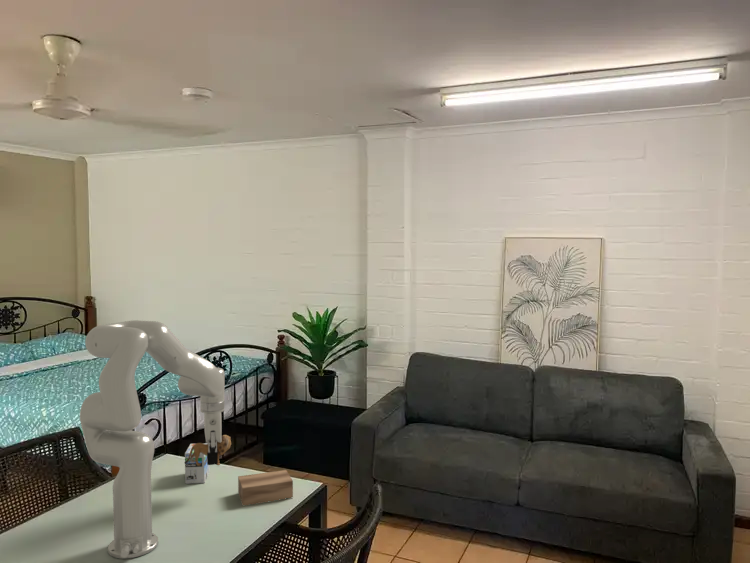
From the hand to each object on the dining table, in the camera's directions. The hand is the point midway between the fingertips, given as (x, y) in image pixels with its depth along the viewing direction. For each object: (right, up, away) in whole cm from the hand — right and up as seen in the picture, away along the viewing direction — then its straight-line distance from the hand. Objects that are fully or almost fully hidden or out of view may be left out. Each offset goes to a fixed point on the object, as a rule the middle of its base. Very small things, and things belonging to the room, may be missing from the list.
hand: (212, 461), depth 192 cm
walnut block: (+17, -12, 0) cm, 21 cm away
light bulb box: (-9, -11, +15) cm, 21 cm away
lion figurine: (-1, -1, 0) cm, 2 cm away
